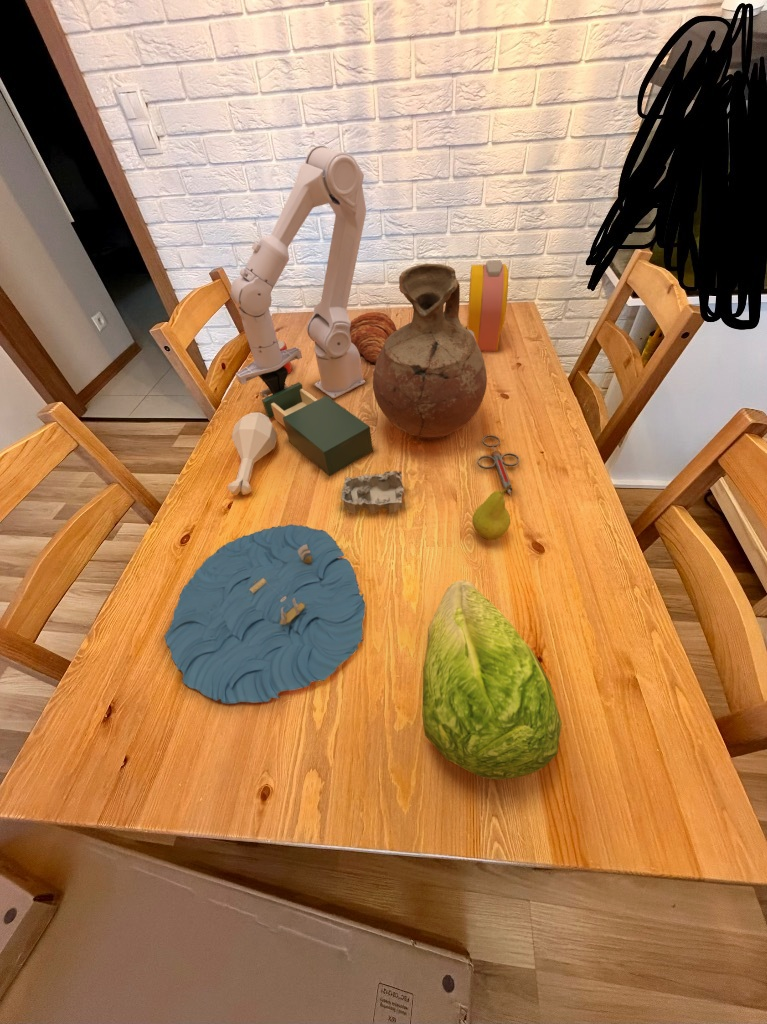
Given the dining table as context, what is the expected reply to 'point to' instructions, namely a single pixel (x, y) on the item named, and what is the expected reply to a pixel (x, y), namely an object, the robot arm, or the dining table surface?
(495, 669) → the lettuce
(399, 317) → the dining table surface
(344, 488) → the grey jagged hollow block
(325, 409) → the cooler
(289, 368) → the drink tin
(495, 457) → the syringe
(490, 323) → the alarm clock
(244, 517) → the dining table surface
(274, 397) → the green drawer
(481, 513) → the fruit
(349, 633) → the blue ocean wave diorama
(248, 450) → the chicken leg
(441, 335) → the jug
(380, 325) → the pastry
